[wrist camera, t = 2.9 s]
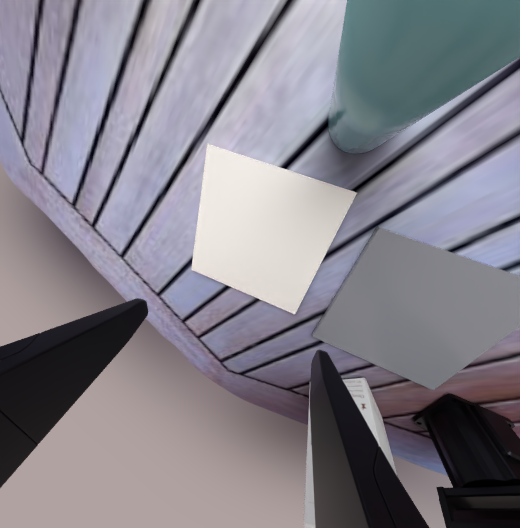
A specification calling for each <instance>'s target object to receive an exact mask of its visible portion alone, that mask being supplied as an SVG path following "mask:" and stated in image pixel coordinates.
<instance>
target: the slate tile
mask: <svg viewBox="0 0 520 528" xmlns="http://www.w3.org/2000/svg"><path fill="white" fill-rule="evenodd" d="M518 327H520V276H519V275H516V274H513V273H510V272H508V271H505V270H502V269H499V268H496V267H493V266H490V265H487V264H484V263H482V262H479V261H476V260H473V259H470V258H467V257H464V256H461V255H458V254H456V253H453V252H450V251H447V250H444V249H441V248H438V247H435V246H432V245H429V244H427V243H424V242H421V241H418V240H415V239H412V238H409V237H406V236H403V235H401V234H398V233H395V232H392V231H389V230H386V229H383V228H380V227H377V228H376V230H375V231H374V233H373V235H372V236H371V238H370V240H369V241H368V243H367V245H366V246H365V248H364V249H363V251H362V253H361V254H360V256H359V258H358V259H357V261H356V263H355V264H354V266H353V267H352V269H351V271H350V272H349V274H348V276H347V277H346V279H345V281H344V282H343V284H342V285H341V287H340V289H339V290H338V292H337V294H336V295H335V297H334V299H333V300H332V302H331V303H330V305H329V307H328V308H327V310H326V312H325V313H324V315H323V317H322V318H321V320H320V321H319V323H318V325H317V326H316V328H315V330H314V331H313V333H312V337H314V338H317V339H319V340H321V341H323V342H326V343H328V344H330V345H332V346H335V347H337V348H339V349H341V350H344V351H346V352H348V353H350V354H353V355H355V356H357V357H359V358H362V359H364V360H366V361H368V362H371V363H373V364H375V365H377V366H380V367H382V368H384V369H386V370H389V371H391V372H393V373H395V374H398V375H400V376H402V377H404V378H407V379H409V380H411V381H413V382H416V383H418V384H420V385H422V386H425V387H427V388H429V389H431V390H435V389H436V388H437V387H439V386H440V385H441V384H443V383H444V382H445V381H447V380H448V379H449V378H451V377H452V376H453V375H455V374H456V373H458V372H459V371H460V370H462V369H463V368H464V367H466V366H467V365H468V364H470V363H471V362H472V361H474V360H475V359H476V358H478V357H479V356H481V355H482V354H483V353H485V352H486V351H487V350H489V349H490V348H491V347H493V346H494V345H495V344H497V343H498V342H499V341H501V340H502V339H504V338H505V337H506V336H508V335H509V334H510V333H512V332H513V331H514V330H516V329H517V328H518Z"/></svg>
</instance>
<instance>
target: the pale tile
mask: <svg viewBox="0 0 520 528" xmlns="http://www.w3.org/2000/svg"><path fill="white" fill-rule="evenodd" d="M356 194H357V192H353V191H350V190H347V189H344V188H341V187H338V186H335V185H332V184H329V183H326V182H323V181H320V180H317V179H314V178H311V177H307V176H304V175H301V174H298V173H295V172H292V171H289V170H286V169H283V168H280V167H277V166H274V165H271V164H268V163H265V162H262V161H258V160H255V159H252V158H249V157H246V156H243V155H240V154H237V153H234V152H231V151H228V150H225V149H222V148H219V147H216V146H212V145H209V144H207V151H206V159H205V167H204V175H203V183H202V190H201V198H200V206H199V214H198V222H197V229H196V237H195V245H194V253H193V261H192V269H191V270H193V271H196V272H198V273H200V274H203V275H205V276H207V277H209V278H212V279H214V280H216V281H219V282H221V283H223V284H226V285H228V286H230V287H233V288H235V289H237V290H239V291H242V292H244V293H246V294H249V295H251V296H253V297H256V298H258V299H260V300H263V301H265V302H267V303H269V304H272V305H274V306H276V307H279V308H281V309H283V310H286V311H288V312H290V313H293V314H295V313H296V311H297V309H298V307H299V306H300V304H301V302H302V300H303V298H304V296H305V294H306V292H307V290H308V288H309V286H310V284H311V282H312V280H313V278H314V276H315V274H316V272H317V270H318V268H319V266H320V264H321V262H322V260H323V258H324V256H325V255H326V253H327V251H328V249H329V247H330V245H331V243H332V241H333V239H334V237H335V235H336V233H337V231H338V229H339V227H340V225H341V223H342V221H343V219H344V217H345V215H346V213H347V211H348V209H349V207H350V206H351V204H352V202H353V200H354V198H355V196H356Z"/></svg>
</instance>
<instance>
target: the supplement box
mask: <svg viewBox="0 0 520 528" xmlns="http://www.w3.org/2000/svg"><path fill="white" fill-rule="evenodd" d="M343 382H344V383H345V385H346V387H347V389H348V390H349V392H350V394H351V396H352V398H353V399H354V401H355V403H356V405H357V406H358V408H359V410H360V412H361V414H362V415H363V417H364V419H365V421H366V422H367V424H368V426H369V428H370V430H371V431H372V433H373V435H374V437H375V438H376V440H377V442H378V444H379V446H380V447H381V449H382V451H383V452H384V454H385V456H386V458H387V460H388V461H389V463H390V465H391V466H392V468H393V470H394V472H395V473H396V475H397V472H396V468H395V464H394V461H393V457H392V453H391V450H390V446H389V442H388V438H387V435H386V431H385V427H384V423H383V420H382V416H381V414H380V411H379V409H378V407H377V405H376V402H375V400H374V398H373V395H372V393H371V390H370V388H369V386H368V384H367V381H366V379H365V378H364V377H363V378H356V379H343ZM310 383H311V381H310ZM307 440H308V441H307V459H306V480H305V502H304V522H303V525H304V526H305V527H306V528H315V508H314V486H313V465H312V443H311V422H310V391H309V415H308V439H307ZM397 477H398V475H397Z"/></svg>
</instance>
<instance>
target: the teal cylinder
mask: <svg viewBox="0 0 520 528" xmlns="http://www.w3.org/2000/svg"><path fill="white" fill-rule="evenodd" d="M519 57H520V0H347V5H346V11H345V18H344V24H343V30H342V36H341V43H340V49H339V55H338V61H337V68H336V74H335V80H334V86H333V93H332V99H331V105H330V111H329V118H328V128H329V133H330V137H331V139H332V141H333V142H334V144H335V145H336V146H337V147H338V148H339V149H341V150H342V151H344V152H347V153H351V154H360V153H365V152H368V151H371V150H373V149H375V148H376V147H378V146H380V145H381V144H383V143H384V142H386V141H387V140H389V139H391V138H392V137H394V136H395V135H397V134H399V133H400V132H402V131H403V130H405V129H406V128H408V127H410V126H411V125H413V124H414V123H416V122H418V121H419V120H421V119H422V118H424V117H425V116H427V115H429V114H430V113H432V112H433V111H435V110H436V109H438V108H440V107H441V106H443V105H444V104H446V103H448V102H449V101H451V100H452V99H454V98H455V97H457V96H459V95H460V94H462V93H463V92H465V91H466V90H468V89H470V88H471V87H473V86H474V85H476V84H478V83H479V82H481V81H482V80H484V79H485V78H487V77H489V76H490V75H492V74H493V73H495V72H496V71H498V70H500V69H501V68H503V67H504V66H506V65H508V64H509V63H511V62H512V61H514V60H515V59H517V58H519Z"/></svg>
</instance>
